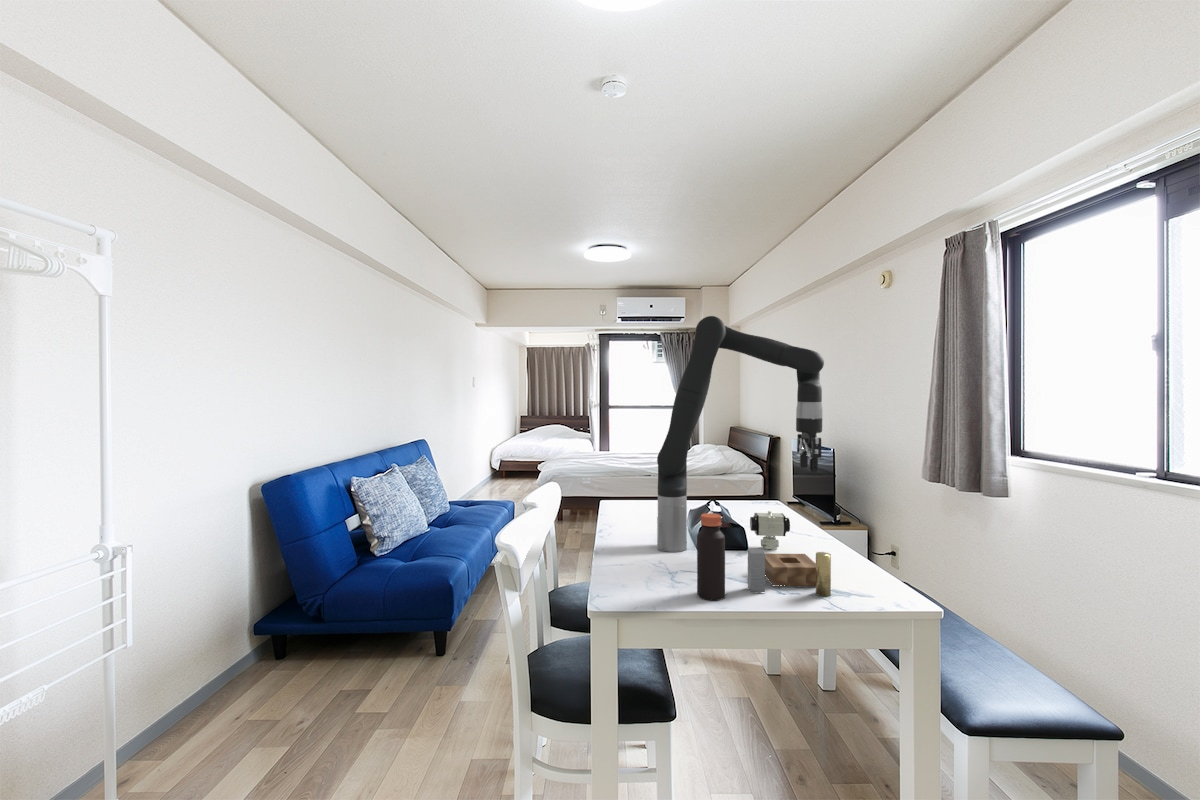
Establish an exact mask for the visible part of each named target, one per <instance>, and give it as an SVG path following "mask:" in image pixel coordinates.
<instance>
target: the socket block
mask: <svg viewBox="0 0 1200 800" xmlns="http://www.w3.org/2000/svg"><path fill="white" fill-rule="evenodd" d="M765 575H766V576H765V578H766V577H767V578H768V579H769V580H768V579H767V578H766V579H767V580H768V582H769V581H770V582H771V583H772V584H771V583H770V582H769V583H770V584H771V586H772V585H779V586H778V587H780V585H782V586H784V585H785V586H816V561H814V560H812V559H811V558H810V557H809V555H807V554H806V553H765Z"/></svg>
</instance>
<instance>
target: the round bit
mask: <svg viewBox="0 0 1200 800" xmlns="http://www.w3.org/2000/svg"><path fill="white" fill-rule="evenodd" d="M815 563H816V587H815V595H817V596H819V597H823V598H824V597H826V598H827V597H831V594H832V590H831V588H832V586H831V585H832V578H831V577H832V576H831V575H832V574H831V573H832V564H831V563H832V554H831V553H830V552H827V551H826V552H825V551H817V552H815Z"/></svg>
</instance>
